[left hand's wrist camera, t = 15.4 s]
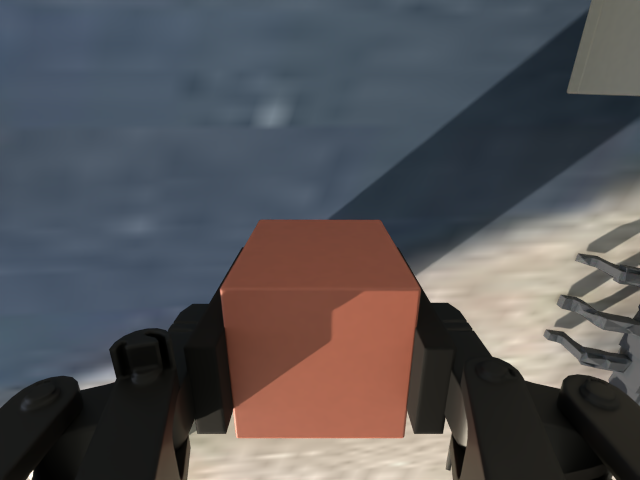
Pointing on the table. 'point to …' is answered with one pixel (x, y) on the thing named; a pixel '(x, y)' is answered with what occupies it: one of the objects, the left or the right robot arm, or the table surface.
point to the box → (609, 50)
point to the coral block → (320, 331)
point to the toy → (636, 345)
